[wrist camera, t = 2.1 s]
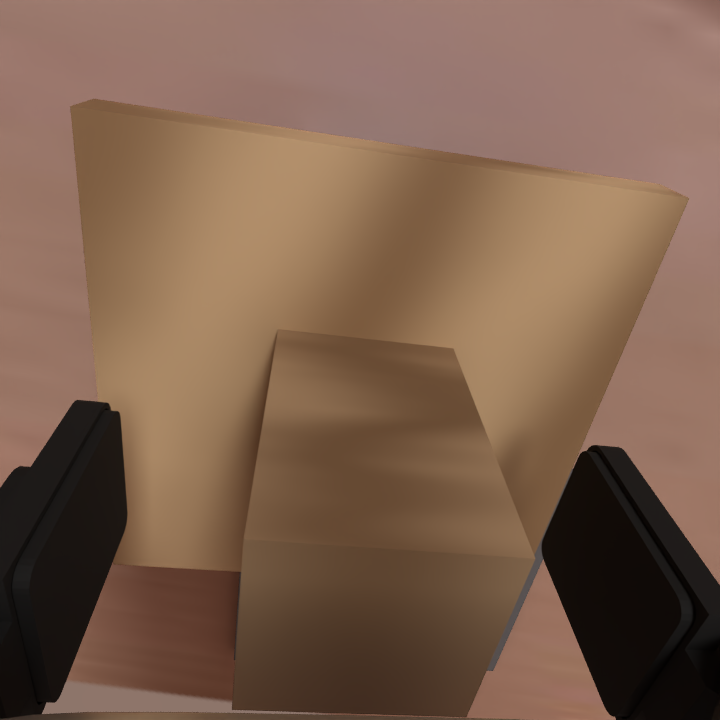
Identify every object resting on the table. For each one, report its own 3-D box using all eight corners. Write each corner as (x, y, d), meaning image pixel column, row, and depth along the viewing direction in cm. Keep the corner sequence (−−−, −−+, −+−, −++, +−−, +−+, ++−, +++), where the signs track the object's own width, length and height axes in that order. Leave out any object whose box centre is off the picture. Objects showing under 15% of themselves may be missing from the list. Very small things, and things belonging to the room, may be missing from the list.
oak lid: (659, 184, 13) (982, 336, 6) (509, 557, 19) (600, 824, 12) (94, 98, 11) (-196, 188, 5) (126, 531, 17) (12, 818, 11)
